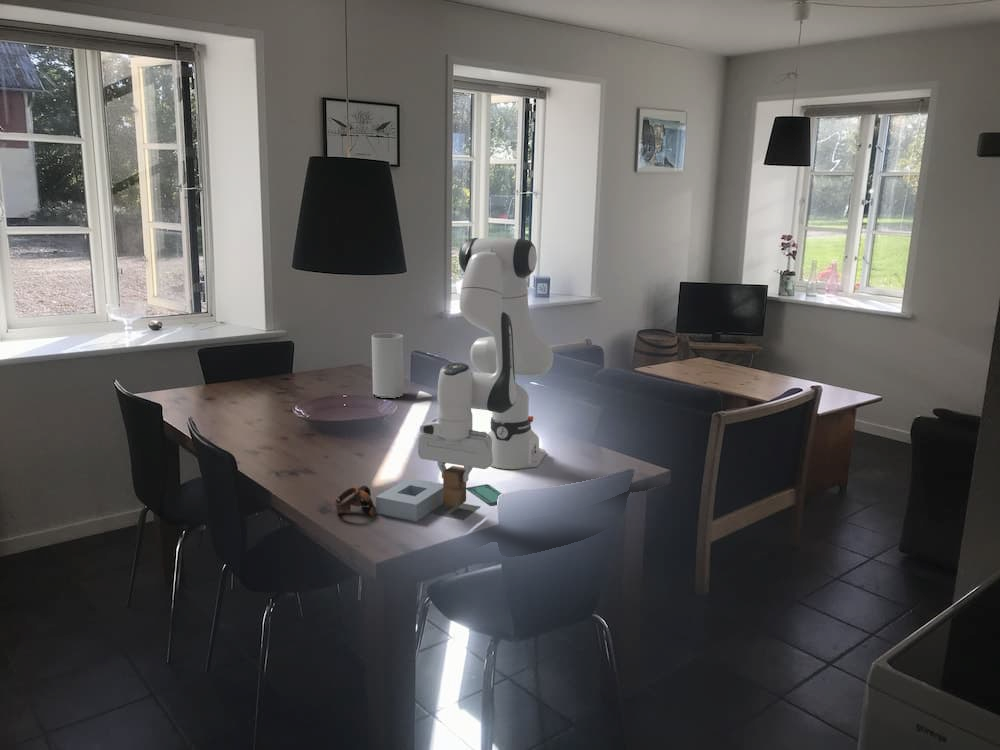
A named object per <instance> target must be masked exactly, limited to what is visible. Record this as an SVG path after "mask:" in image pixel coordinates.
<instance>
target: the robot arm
mask: <svg viewBox="0 0 1000 750" xmlns="http://www.w3.org/2000/svg"><path fill="white" fill-rule="evenodd" d="M537 255H538V254H537V250H536V246H535V245H534V243H533V242H532V241H531V240H529V239H525V238H518V239H517V238H513V237H503V236H498V237H484V238H483V237H482V238H479V237H473V238H469V239H466V240H465V241H464V242H463V243H462V244H461V246H460V247H459V252H458V263H459V267H460V269H461V270H462V271H463V278H462V283H461V288H460V294H459V295H460V296H459V310H460V313H461V314H462V316H463V318H464V319H465V320H466V321H467V322H468V323H470V324H471V325H473V326H475V327H476V328H478V329H480V330H483V331H485V332H487V333H488V334H490V335H491V336H484V337H479V338H477V339H476V340H475V341H474V342H473V344H472V345H471V348H470V352H469V353H470V354H469V357H470V361H471V364H472V365H473V367H474V368H475V369H477V371H472V370H471V367H470V366H469V365H468V364H466V363H462V362H451V363H447V364H445V365H443V366H442V367H441V368H440V371H439V375H438V380H437V381H438V382H437V403H438V411H437V418H436V419H435V418H434V419H431V420H429V421H427V422H425V423H423V424H422V425H420V427H419V431H420V434H419V436H418V440H417V441H418V442H417V455H418V456H419V458H420V460H426V461H432V462H433V461H434V462H437V467H438V469H439V470H440V471H439V472H441V478H442V479H443V471H445V470H446V469H447V466H446V465H445V464H450V465H451V464H452V465H456V466H462V467H463V468H464V470H466V471H465V473H463V474H462V475H460V478H461V479H460V481H461V482H466V483H467V482H469V475H470V473H471V472H472V470H473V468H475V469H481V470H486V469H488V468H490V467H493V468H497V469H503V470H520V469H524V468H538V467H539V466H540V464H541V462H542V461H543V459H544V457H545V456H546V455H547V450H546V449H544V448H541V447H540V437H539V436H538V434H537V433H535V432H534V431H533V430H532V426H531V425H532V423H533V421H534V416H533V415H529V409H530V408H529V406H530V403H529V401H530V396H529V394H528V392H527V390H526V389H525V388H524V387H523V386H521V385H519V384H518V383H517V382H516V376H517V375H518V376H525V377H527V376H528V377H533V376H542V375H546V374H547V373H548V372H549V371H550V370H551V368H552V367H553V364H554V363H553V362H554V353H553V352H554V351H553V350H552V347H551V346H550V344H549V343H547V342H546V341H545V340H543V338H542V337H541V336H540V335H539V334H538V332H537V331H536V329H535V328H534V326H533V324H532V320H531V315H530V309H529V308H530V307H529V297H528V296H529V292H528V291H529V289H528V279H527V277H529V276H530V275H531V274H532V273H533V272H534V271H535V269H536V265H537V261H538V259H537V258H538V256H537ZM478 371H479V372H478ZM515 375H516V376H515ZM472 409H473V410H481V411H482V410H483V411H488V412H492V416H491V417H490V424H489V425H490V431H489V432H488V433H487V432H486V431H478V430H473V412H472Z"/></svg>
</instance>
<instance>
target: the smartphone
mask: <svg viewBox="0 0 1000 750" xmlns="http://www.w3.org/2000/svg"><path fill="white" fill-rule="evenodd" d="M466 491H468V492H469V493H471V494H472V495H474V496H475V497H476V498H478V499H479V500H480V501H482V502H483V503H485V504H486V505H488V506H489V507H495V506H498V505H497V499H498V496H499V495H500V494H503V493H502V492H501V491H500V490H497V489H496V488H494V487H493V486H491V484H485V483H484V484H481V485H475V486H470V487H466Z"/></svg>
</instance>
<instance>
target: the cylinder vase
mask: <svg viewBox="0 0 1000 750" xmlns="http://www.w3.org/2000/svg"><path fill="white" fill-rule="evenodd" d="M403 339H404V335H403V334H400V333H391V332H389V333H388V332H387V333H385V332H384V333H375V334H372V335H371V364H372V365H371V368H372V369H371V370H372V371H371V373H372V395H373V394H375V395H377V396H389V397H395V396H400V395H403V396H404V394H403V393H404V391H405V390H404V340H403Z"/></svg>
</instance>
